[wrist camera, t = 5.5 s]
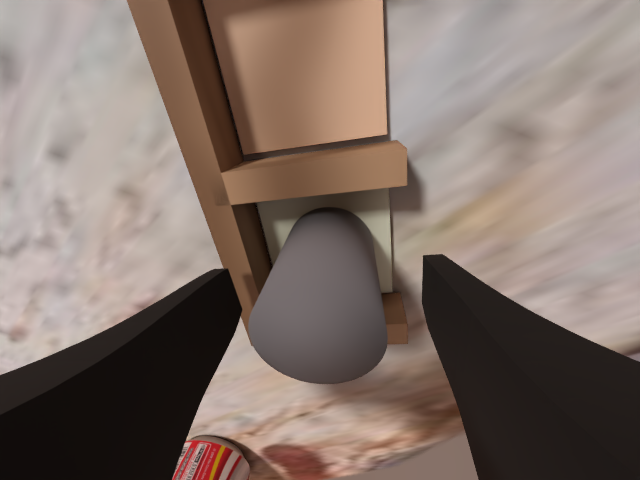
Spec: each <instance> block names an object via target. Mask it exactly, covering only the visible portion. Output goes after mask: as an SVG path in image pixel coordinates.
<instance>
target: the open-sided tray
mask: <svg viewBox="0 0 640 480" xmlns="http://www.w3.org/2000/svg"><path fill="white" fill-rule="evenodd" d="M127 2H128V5H129V8H130V10H131V13H132V16H133V19H134V21H135V24H136V27H137V30H138V33H139V35H140V38H141V41H142V44H143V46H144V49H145V52H146V55H147V57H148V60H149V63H150V66H151V69H152V71H153V74H154V77H155V80H156V82H157V85H158V88H159V91H160V93H161V96H162V99H163V102H164V104H165V107H166V110H167V113H168V116H169V118H170V121H171V124H172V127H173V129H174V132H175V135H176V138H177V140H178V143H179V146H180V149H181V152H182V154H183V157H184V160H185V163H186V165H187V168H188V171H189V174H190V176H191V179H192V182H193V185H194V188H195V190H196V193H197V196H198V199H199V201H200V204H201V207H202V210H203V212H204V215H205V218H206V221H207V224H208V226H209V229H210V232H211V235H212V237H213V240H214V243H215V246H216V248H217V251H218V254H219V257H220V260H221V262H222V265H223V268H224V269H225V268H228V270H229V272H230V275H231V278H232V281H233V284H234V287H235V289H236V292H237V295H238V298H239V301H240V304H241V306H242V309H243V310H242V313H241V318H242V320H243V323H244V326H245V329H246V331H247V334H248V337H249V340H250V336H249V332H248V323H249V317H250V314H251V312H252V309H253V307H254V305H255V303H256V301H257V299H258V297H259V295H260V293H261V291H262V289H263V287H264V285H265V283H266V280H267V278H268V276H269V274H270V272H271V270H272V265H271V262H270V258H269V254H268V250H267V247H266V243H265V239H264V235H263V232H262V228H261V224H260V220H259V217H258V213H257V209H256V205H255V202H256V204H257V207H258V211H259V215H260V219H261V223H262V226H263V230H264V234H265V238H266V241H267V245H268V249H269V253H270V257H271V260H272V264H273V266H274V264H275V262H276V260H277V258H278V256H279V254H280V252H281V249H282V247H283V245H284V243H285V241H286V239H287V237H288V235H289V233H290V231H291V229H292V227H293V225H294V224H295V222H296V221H297V220H298V219H299V218H300V217H301V216H303V215H304V214H306V213H307V212H309V211H311V210H314V209H317V208H322V207H336V208H341V209H345V210H347V211H350V212H351V213H353V214H355V215H356V216H358V217H359V218H360V219H361V220H362V221H363V222H364V223H365V224H366V225H367V227H368V229H369V230H370V233H371V235H372V239H373V244H374V251H375V257H376V264H377V270H378V276H379V283H380V289H381V292H393V291H392V262H391V233H390V203H389V187H399V186H407V148H406V147H405V146H403V145H402V144H401V143H400V142H399V141H397V140H395V141H388V142H381V143H373V144H366V145H359V146H352V147H344V148H337V149H330V150H323V151H315V152H308V153H301V154H294V155H287V156H279V157H272V158H265V159H258V160H250V161H244V160H243V157H242V153H241V149H240V145H239V142H238V138H237V134H236V130H235V127H234V123H233V119H232V115H231V112H230V108H229V104H228V100H227V97H226V93H225V89H224V85H223V82H222V78H221V74H220V70H219V67H218V63H217V59H216V55H215V52H214V48H213V44H212V40H211V37H210V33H209V29H208V25H207V22H206V18H205V14H204V10H203V7H202V3H201V0H127ZM203 3H204V7H205V10H206V14H207V18H208V22H209V26H210V29H211V33H212V37H213V41H214V45H215V48H216V52H217V56H218V60H219V63H220V67H221V71H222V75H223V79H224V82H225V86H226V90H227V94H228V98H229V101H230V105H231V109H232V113H233V116H234V120H235V124H236V128H237V132H238V135H239V139H240V143H241V147H242V151H243V154H244V155H246V154H253V153H260V152H267V151H274V150H281V149H288V148H295V147H302V146H309V145H316V144H323V143H330V142H337V141H344V140H351V139H358V138H365V137H372V136H379V135H386V134H387V115H386V86H385V57H384V27H383V0H203ZM381 295H382V302H383V308H384V315H385V321H386V327H387V335H388V342H387V344H408V324H407V319H406V315H405V311H404V307H403V303H402V299H401V295H400V293H381ZM250 343H251V345H252V342H251V340H250ZM252 346H253V345H252Z"/></svg>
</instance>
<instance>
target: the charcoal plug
mask: <svg viewBox="0 0 640 480" xmlns="http://www.w3.org/2000/svg"><path fill="white" fill-rule="evenodd" d="M248 332H249V336H250V340H251V342H252V345H253V346H254V348H255V350H256V351H257V353H258V354H259V355H260V357H261V358H262V359H263V360H264V361H265V362H266V363H268V364H269V365H270V366H271V367H273V368H274V369H276V370H277V371H279V372H281V373H282V374H284V375H287V376H289V377H291V378H294V379H297V380H300V381H304V382H309V383H316V384H336V383H343V382H347V381H351V380H354V379H357V378H359V377H361V376H363V375H365V374H367V373H368V372H369V371H371V370H372V369H373V368H374V367H375V366H376V365H377V364H378V363H379V362H380V361H381V359H382V358H383V356H384V354H385V351H386V348H387V342H388V335H387V327H386V321H385V315H384V308H383V302H382V295H381V289H380V283H379V276H378V270H377V264H376V257H375V251H374V244H373V239H372V235H371V233H370V230H369V229H368V227H367V225H366V224H365V223H364V222H363V221H362V220H361V219H360V218H359V217H358V216H356V215H355V214H353V213H351V212H350V211H347V210H345V209H341V208H336V207H322V208H317V209H314V210H311V211H309V212H307V213H306V214H304V215H303V216H301V217H300V218H299V219H298V220H297V221H296V222H295V224H294V225H293V227H292V229H291V231H290V233H289V235H288V237H287V239H286V241H285V243H284V245H283V247H282V249H281V252H280V254H279V256H278V258H277V260H276V262H275V264H274V266H273V268H272V270H271V272H270V274H269V276H268V278H267V280H266V283H265V285H264V287H263V289H262V291H261V293H260V295H259V297H258V299H257V301H256V303H255V305H254V307H253V309H252V312H251V314H250V317H249V323H248Z"/></svg>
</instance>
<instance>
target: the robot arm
mask: <svg viewBox="0 0 640 480" xmlns="http://www.w3.org/2000/svg"><path fill="white" fill-rule="evenodd" d="M422 305H423V309H424V314H425V318H426V322H427V325H428V329H429V332H430V334H431V337H432V340H433V342H434V345H435V348H436V350H437V353H438V355H439V358H440V360H441V363H442V365H443V368H444V371H445V373H446V376H447V378H448V381H449V383H450V386H451V388H452V391H453V394H454V397H455V399H456V402H457V405H458V408H459V411H460V415H461V418H462V422H463V425H464V429H465V432H466V436H467V439H468V442H469V446H470V450H471V453H472V457H473V460H474V464H475V468H476V471H477V475H478V479H479V480H640V362H638V361H636V360H633V359H631V358H629V357H626V356H624V355H622V354H619V353H617V352H615V351H613V350H610V349H608V348H606V347H603V346H601V345H599V344H597V343H594V342H592V341H590V340H588V339H586V338H583V337H581V336H579V335H577V334H575V333H573V332H571V331H569V330H567V329H565V328H563V327H561V326H559V325H557V324H555V323H553V322H551V321H549V320H547V319H545V318H543V317H541V316H539V315H537V314H535V313H533V312H532V311H530V310H528V309H526V308H524V307H523V306H521V305H519V304H518V303H516V302H514V301H512V300H511V299H509V298H507V297H506V296H504V295H502V294H501V293H499V292H498V291H496V290H494V289H493V288H491V287H490V286H488V285H487V284H485V283H484V282H482V281H481V280H479V279H478V278H476V277H475V276H473V275H472V274H470V273H469V272H467V271H466V270H464V269H463V268H462V267H460V266H459V265H457V264H456V263H455V262H453V261H452V260H450V259H449V258H447V257H446V256H444V255H443V254H438V255H423V281H422ZM242 310H243V309H242V306H241V304H240V301H239V298H238V295H237V292H236V289H235V287H234V284H233V281H232V278H231V275H230V272H229V270H228V268H225V269H213V270H211V271H209V272H207V273H205V274H203V275H201V276H199V277H198V278H196V279H194V280H193V281H191V282H189V283H188V284H186V285H184V286H183V287H181V288H179V289H178V290H176V291H174V292H173V293H171V294H169V295H168V296H166V297H164V298H163V299H161V300H160V301H158V302H156V303H154V304H153V305H151V306H149V307H147V308H146V309H144V310H142V311H140V312H139V313H137V314H135V315H133V316H132V317H130V318H128V319H126V320H124V321H122V322H121V323H119V324H117V325H115V326H113V327H111V328H109V329H107V330H105V331H103V332H101V333H99V334H97V335H95V336H93V337H91V338H89V339H86V340H84V341H82V342H80V343H78V344H75V345H73V346H71V347H68V348H66V349H64V350H62V351H59V352H57V353H55V354H52V355H50V356H48V357H46V358H43V359H41V360H38V361H36V362H33V363H31V364H28V365H26V366H23V367H21V368H18V369H16V370H13V371H10V372H8V373H5V374H2V375H0V480H172V478H173V475H174V472H175V469H176V466H177V463H178V461H179V458H180V455H181V452H182V450H183V447H184V444H185V441H186V438H187V436H188V433H189V430H190V428H191V425H192V423H193V420H194V418H195V415H196V413H197V410H198V407H199V405H200V402H201V400H202V398H203V396H204V394H205V392H206V389H207V387H208V385H209V383H210V381H211V379H212V377H213V376H214V374H215V372H216V370H217V368H218V366H219V364H220V362H221V360H222V358H223V356H224V354H225V352H226V350H227V348H228V346H229V344H230V342H231V340H232V338H233V336H234V333H235V331H236V328H237V325H238V322H239V319H240V316H241V313H242Z"/></svg>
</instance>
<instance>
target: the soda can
mask: <svg viewBox="0 0 640 480" xmlns="http://www.w3.org/2000/svg"><path fill="white" fill-rule="evenodd" d="M249 474H250V467H249V464H248V462H247V461H246V459H245V458H244V457H243V453H242V452H241V450H240V449H239V448H238V447H237V446H235V445H234V444H232V443H230V442H229V441H226V440H224V439H221V438H218V437H213V436H199V437H195V438H193V439H192V440H188V441H185V444H184V447H183V450H182V452H181V455H180V458H179V461H178V463H177V466H176V469H175V472H174V475H173V478H172V480H248V479H249Z"/></svg>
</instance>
